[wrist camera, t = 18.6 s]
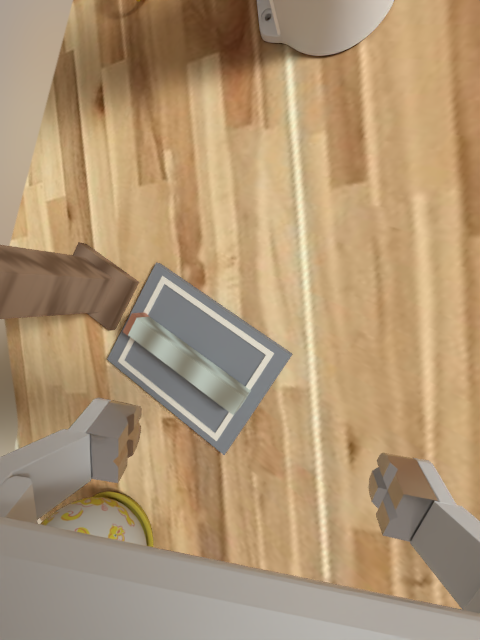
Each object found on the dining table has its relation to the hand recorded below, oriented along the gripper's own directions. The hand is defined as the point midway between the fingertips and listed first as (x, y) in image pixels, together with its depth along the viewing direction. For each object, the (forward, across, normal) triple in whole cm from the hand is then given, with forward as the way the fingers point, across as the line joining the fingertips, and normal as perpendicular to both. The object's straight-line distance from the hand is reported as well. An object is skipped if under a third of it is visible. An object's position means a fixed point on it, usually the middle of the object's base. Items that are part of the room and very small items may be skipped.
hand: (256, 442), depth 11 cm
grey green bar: (+32, +8, +17) cm, 37 cm away
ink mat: (+33, +8, +17) cm, 38 cm away
